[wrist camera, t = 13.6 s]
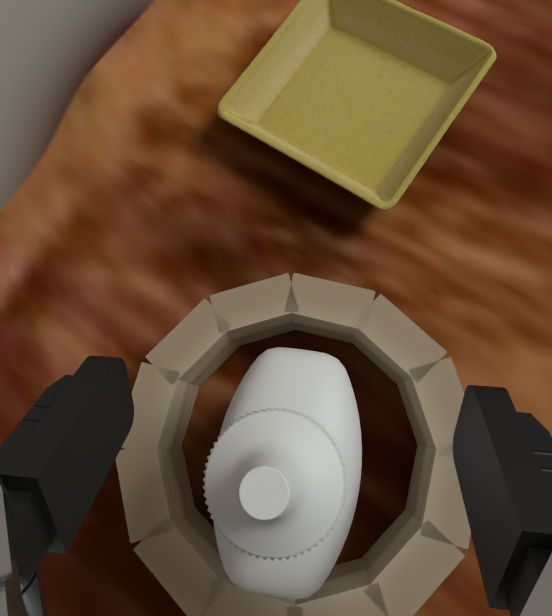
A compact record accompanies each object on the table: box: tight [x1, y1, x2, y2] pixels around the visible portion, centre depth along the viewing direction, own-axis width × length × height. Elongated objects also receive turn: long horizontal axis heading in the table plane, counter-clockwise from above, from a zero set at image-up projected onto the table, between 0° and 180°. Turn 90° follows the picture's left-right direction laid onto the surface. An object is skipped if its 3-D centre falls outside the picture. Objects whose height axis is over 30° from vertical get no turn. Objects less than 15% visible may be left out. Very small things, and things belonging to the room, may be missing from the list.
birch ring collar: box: [116, 273, 471, 616], centre depth 17 cm, size 11×11×3 cm
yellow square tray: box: [217, 0, 496, 210], centre depth 21 cm, size 9×9×2 cm
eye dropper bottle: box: [202, 347, 362, 600], centre depth 12 cm, size 4×6×12 cm
